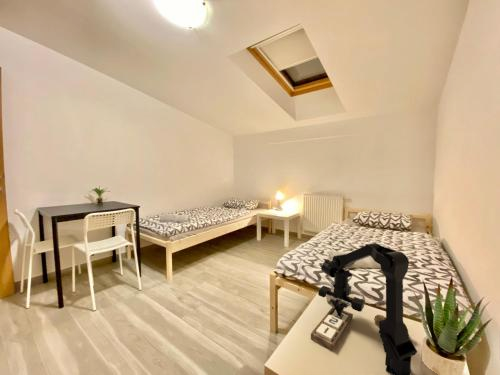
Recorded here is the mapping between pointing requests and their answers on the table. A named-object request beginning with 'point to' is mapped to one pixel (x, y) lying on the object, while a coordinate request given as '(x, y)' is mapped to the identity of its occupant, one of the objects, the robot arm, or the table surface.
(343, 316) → the tile
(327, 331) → the tile
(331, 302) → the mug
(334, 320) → the tile
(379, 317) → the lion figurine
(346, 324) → the tile rack
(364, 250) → the robot arm
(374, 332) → the table surface
